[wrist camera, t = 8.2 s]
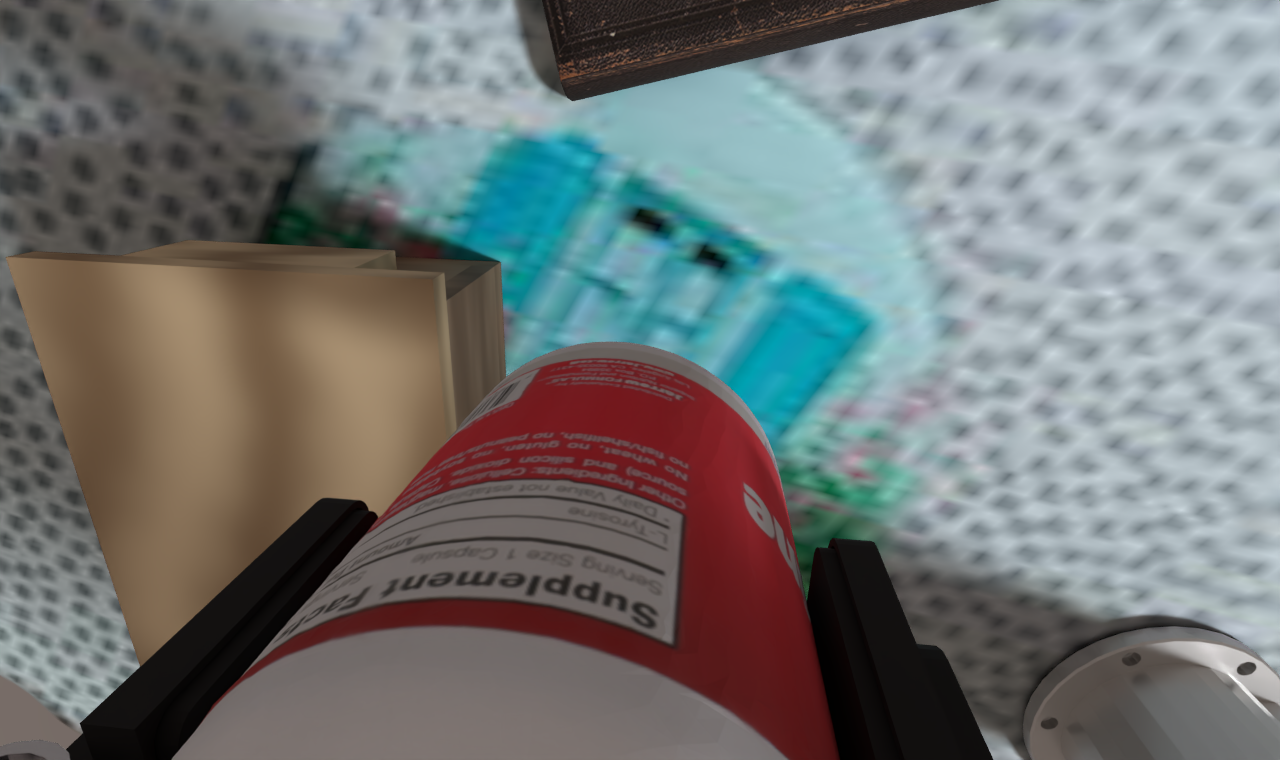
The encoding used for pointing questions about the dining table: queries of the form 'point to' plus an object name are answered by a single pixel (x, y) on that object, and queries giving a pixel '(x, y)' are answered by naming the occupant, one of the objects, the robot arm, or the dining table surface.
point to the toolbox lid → (232, 400)
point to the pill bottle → (558, 591)
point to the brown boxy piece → (470, 326)
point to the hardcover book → (703, 34)
